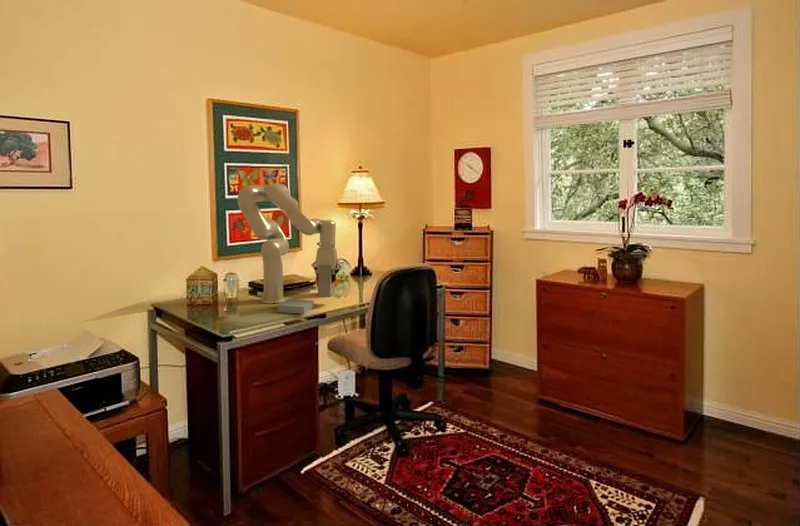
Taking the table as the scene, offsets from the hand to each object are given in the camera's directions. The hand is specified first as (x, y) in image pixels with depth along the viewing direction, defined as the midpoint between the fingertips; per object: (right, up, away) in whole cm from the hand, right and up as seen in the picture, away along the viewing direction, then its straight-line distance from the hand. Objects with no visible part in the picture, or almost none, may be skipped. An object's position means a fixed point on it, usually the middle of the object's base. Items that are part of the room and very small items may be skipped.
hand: (326, 281), depth 269 cm
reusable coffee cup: (-3, -9, +24) cm, 25 cm away
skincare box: (0, -7, +1) cm, 7 cm away
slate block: (-13, -14, -9) cm, 21 cm away
